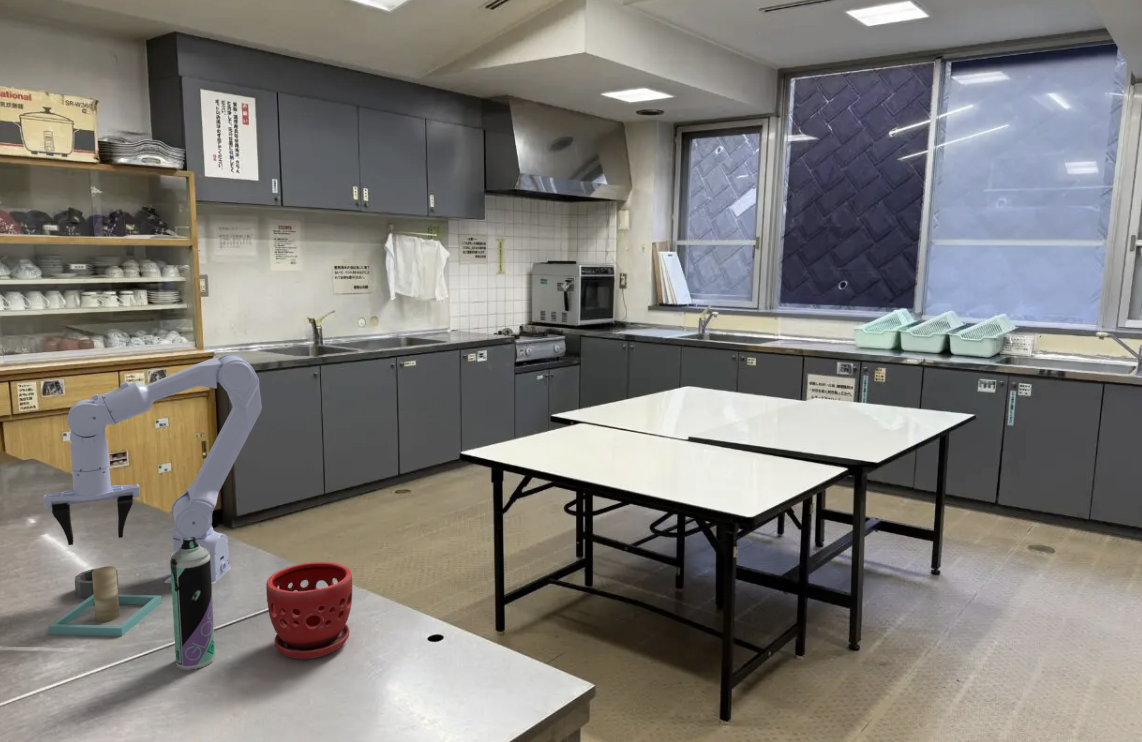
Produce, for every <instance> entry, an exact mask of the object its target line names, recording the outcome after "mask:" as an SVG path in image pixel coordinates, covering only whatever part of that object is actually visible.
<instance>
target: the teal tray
mask: <svg viewBox="0 0 1142 742" xmlns="http://www.w3.org/2000/svg"><path fill="white" fill-rule="evenodd" d="M118 599H119V605H143V606H142V607H141V608H140V609H139V610H137V611H136V612H134V614H132V615H131V616H130V617H129V618H128V619H126V620H125V621H124V622H122V624H120V625H104V624H103V625H101V624H100V625H99V624H97V625H96V624H70V623H72V622H73V621H74V620H76V619H77V618H78V617H80V616H81V615H82V614H84V613H85V612H86V611H89V609H90V608H91V607H93V606H95V603H94V594H93V595H92V596H90V597H89V598H88V599H84V600H83V601H82V602H80V603H79V604H78V605H76V606H75V607H74V608H72V609H70V610H69V611H68V612H66V613H65V614H64V615H62V616H60V618H58V619H56V620H55V621H54V622H52V623H51V624H50V625H48V626H47V628H48V635H73V636H74V635H75V636H98V637H99V636H101V637H103V636H104V637H123V636H124V635H126V634H127V633H128V632H129V631H130V630H131V629H132V628H134V627H135V626H136V625H137V624H139V622H141V621H142V620H143V619H145V617H147V616H148V615H149V614H150V613H152V612H153V610H155V609H156V608H158V607H159V606H160V605H161V604H162V601H163V600H162V595H154V594H153V595H150V594H149V595H146V594H119V593H118Z"/></svg>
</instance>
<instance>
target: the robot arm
mask: <svg viewBox="0 0 1142 742" xmlns="http://www.w3.org/2000/svg"><path fill="white" fill-rule="evenodd" d="M217 383H219V384H220V386H221V387H222V388H223V389H224V391H225V392H226V393H227V396H228V398H229V401H230V403H231V405H232V408H231V410H230V412H229V414H228V415H227V418H226V420H225V422H224V424H223V425H222V428H221V429H220V431H219V433H218V435H217V436H216V439H215V441H214V443H213V445H212V446H211V448H210V450H209V451H208V454H207V455H206V457H205V459H204V462H203V463H202V465H201V467H200V469H199V471H198V473H197V475H196V476H195V479H194V480H193V481H192V482H191V483H190V484H189V485H188V486H187V488H186V490H185V491H184V493H182V494H181V495H180V496H178V497H177V498H176V499H175V500H174V502H172V506H171V515H172V517H173V519H174V529H173V530H172V531H171V533H170V534H171V549H172V550H171V551H172V553H174V552H176V551H177V550H179V548H180V546H182V544H183V539H188V538H191V537H195V539H196V542H197V544H200V547H203V548H207V549H208V550H209V554H210V562H211V582H212V585H214V584H216V582H217V581H219V580H220V579H221V578H222V577H223V576H224V575H226V574H227V572H229V571H230V570H231V568H232V567H231V565H230V550H229V549H230V548H229V547H230V546H229V538H228V536H227V535H226V534H225V533H221V532H217V531H215V530H214V528H213V525H212V523H213V511H214V510H215V508H216V507H217V503H218V497H219V492H220V490H221V489H222V486H223V485H224V483H225V481H226V478H227V477H228V475H229V473H230V471H231V470H232V468H233V465H234V464H235V462H236V461H237V459H238V456H239V455H240V452H241V451H242V449H243V446H244V445H245V442H246V441H247V439H248V438H249V435H250V433H251V431H252V430H253V427H254V425H255V424H256V421H257V420H258V418H259V416H260V414H261V413H262V410H263V408H262V398H261V392H260V391H261V389H260V379H259V377H258V374H257V373H256V371H255V369H254V367H253V366H252V365H251V364H250V363H249V362H247V361H246V360H245V358H244V357H242V356H241V355H238V354H235V353H227V354H224V355H222V356H220V357H218V358H217V357H213V358H209V359H207V360H203V361H201V362H199V363H195V364H193V365H192V366H188V367H187V368H184V369H182V370H179V371H176V372H175V373H173V374H170V375H168V376H165V377H163V378H160V379H158V380H156V381H154V382H151V383H148V384H143V383H140V382H137V381H135V382H131V383H129V382H128V381H124V382H121V383H119V388H118V387H117V388H116V389H113V390H110V391H108V392H106V393H102V394H100V395H99V394H98V393H95V394H92V395H91V399H82V400H79V401H77V402H75V403H73V405H72V406H71V407H70V409H69V412H68V415H67V422H66V423H67V425H68V428H69V430H70V433H69V438H70V441H71V442H70V445H69V447H70V460H71V461H70V463H71V471H72V472H71V475H72V486H73V487H72V489H71V490H65V491H62V492H61V491H60V492H55V493H50V494H44V495H43V508H44V509H51V513H52V515H53V517H54V519H56V521H57V522H58V524H59V525H60V527H61V529H62V530H63V532H64V535H65V537H66V540H67V544H68V546H74V533H73V526H72V519H71V505H76V504H77V505H78V504H84V503H91V502H98V501H99V502H100V501H107V500H116V502H117V516H118V521H117V522H118V523H117V535H118V537H117V538H118V539H121V538H122V539H123V537H124V529H125V524H126V521H127V517H128V515H129V513H130V511H131V508H132V507H133V504H134V498H140V485H139V484H138V483H136V484H123V485H122V484H121V485H120V484H118V485H116V484H114V485H112V482H111V471H110V470H111V469H110V455H109V441H108V439H107V438H106V427H107V426H108V425H116V424H118V423H122V422H123V421H126V420H129V419H132V418H134V417H137V416H138V415H142V414H145V413H146V412H149V411H150V410H151V408H152V406H153V403H154V402H155V401H159V400H161V399H165V398H166V397H170V396H173V395H176V394H178V393H181V392H184V391H187V390H189V389H192V388H193V389H194V388H195V387H198V386H199V387H204V388H205V387H206V388H212V389H217V388H218V385H217ZM163 582H164V583H165V584H171V576H169V577H168V578H167V579H165V581H163Z"/></svg>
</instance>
